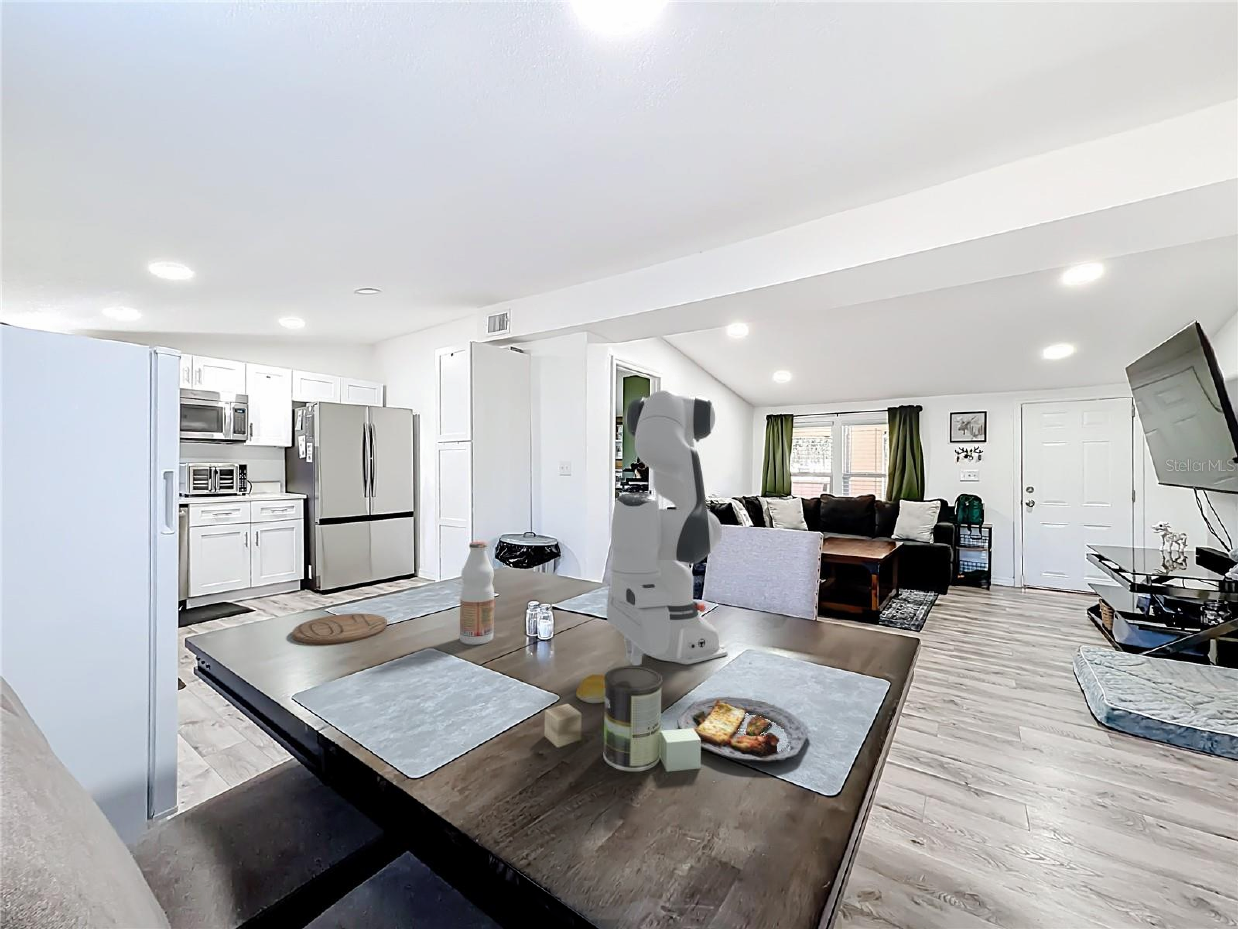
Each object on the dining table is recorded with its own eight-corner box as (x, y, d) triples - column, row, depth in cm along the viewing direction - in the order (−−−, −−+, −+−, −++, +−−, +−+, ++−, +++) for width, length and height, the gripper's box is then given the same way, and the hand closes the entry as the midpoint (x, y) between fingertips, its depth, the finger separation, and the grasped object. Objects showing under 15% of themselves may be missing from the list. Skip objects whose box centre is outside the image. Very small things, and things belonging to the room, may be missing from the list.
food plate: (785, 786, 87) (785, 764, 87) (658, 745, 100) (658, 726, 100) (818, 727, 109) (818, 710, 109) (710, 700, 121) (710, 684, 121)
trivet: (371, 614, 179) (371, 609, 179) (399, 633, 161) (399, 627, 161) (284, 629, 162) (284, 623, 162) (304, 652, 144) (304, 645, 144)
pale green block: (692, 756, 96) (693, 728, 96) (700, 768, 92) (700, 739, 92) (660, 759, 95) (660, 731, 95) (666, 772, 91) (667, 742, 91)
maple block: (567, 729, 105) (567, 703, 105) (581, 740, 101) (581, 713, 101) (544, 736, 102) (544, 710, 102) (557, 748, 98) (558, 720, 98)
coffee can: (599, 770, 91) (601, 687, 91) (606, 739, 101) (607, 664, 101) (660, 774, 90) (662, 690, 90) (661, 742, 100) (662, 667, 100)
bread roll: (573, 703, 116) (573, 684, 116) (583, 686, 125) (583, 669, 125) (610, 707, 115) (610, 688, 115) (618, 689, 124) (618, 672, 124)
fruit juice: (458, 646, 150) (460, 545, 149) (460, 635, 159) (462, 540, 159) (493, 644, 152) (494, 545, 151) (493, 633, 161) (495, 540, 161)
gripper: (599, 574, 104) (598, 645, 104) (641, 600, 85) (639, 688, 85) (629, 572, 106) (628, 641, 107) (677, 597, 87) (675, 682, 88)
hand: (633, 662), depth 96 cm, fingers closed
